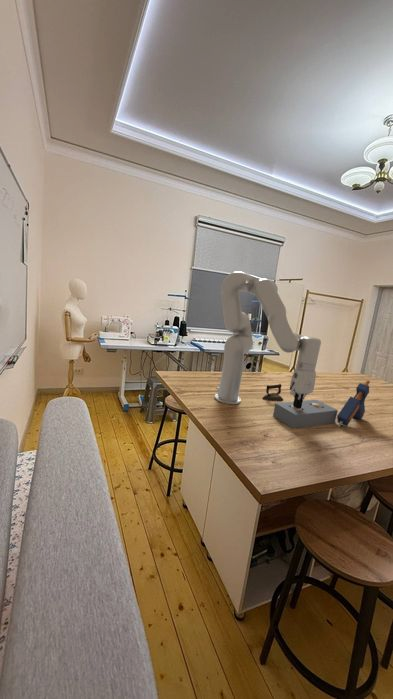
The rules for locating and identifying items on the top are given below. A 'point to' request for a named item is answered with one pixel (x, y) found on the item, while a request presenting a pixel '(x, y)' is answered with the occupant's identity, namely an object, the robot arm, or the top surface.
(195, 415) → the top surface
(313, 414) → the block
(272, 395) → the clothes iron
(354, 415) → the glue gun
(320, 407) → the dowel
